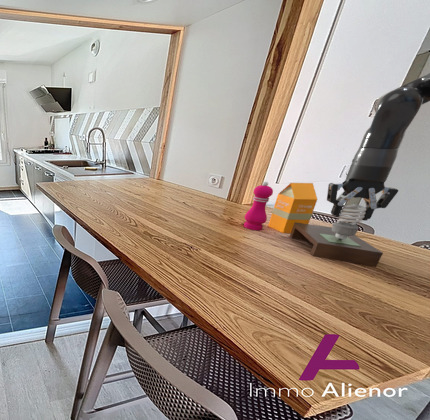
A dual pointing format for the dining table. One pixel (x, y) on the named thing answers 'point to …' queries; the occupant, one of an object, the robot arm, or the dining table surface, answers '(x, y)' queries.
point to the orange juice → (293, 206)
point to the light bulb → (346, 228)
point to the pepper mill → (258, 207)
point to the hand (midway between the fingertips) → (349, 217)
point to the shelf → (336, 245)
